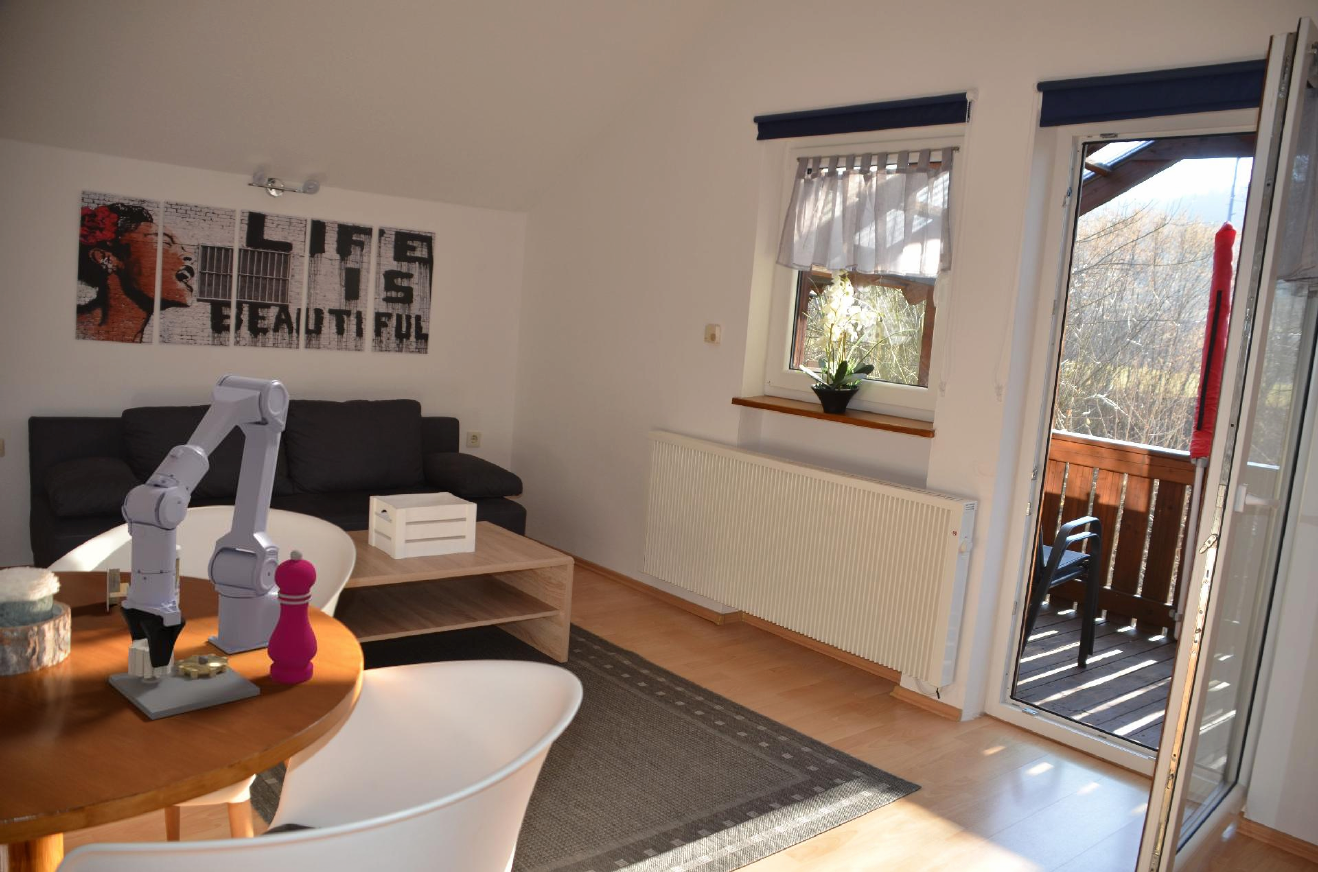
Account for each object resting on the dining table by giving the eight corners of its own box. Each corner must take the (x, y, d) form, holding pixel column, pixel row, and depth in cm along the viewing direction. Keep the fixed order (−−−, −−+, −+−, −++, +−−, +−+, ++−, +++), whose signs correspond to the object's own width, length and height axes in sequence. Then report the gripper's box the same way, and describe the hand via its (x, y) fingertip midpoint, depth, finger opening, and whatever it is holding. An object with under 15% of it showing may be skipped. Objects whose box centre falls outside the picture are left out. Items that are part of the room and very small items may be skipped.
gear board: (211, 661, 159) (212, 639, 159) (259, 694, 148) (260, 671, 148) (108, 681, 148) (109, 658, 148) (152, 719, 137) (152, 695, 137)
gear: (164, 659, 151) (165, 634, 151) (180, 671, 148) (181, 645, 147) (121, 668, 147) (122, 641, 146) (136, 680, 143) (137, 653, 143)
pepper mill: (269, 687, 151) (274, 556, 149) (263, 669, 158) (268, 544, 155) (319, 682, 155) (325, 554, 152) (312, 665, 161) (317, 542, 158)
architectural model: (128, 602, 184) (128, 562, 182) (129, 614, 178) (130, 573, 176) (106, 603, 182) (107, 563, 181) (107, 615, 176) (107, 574, 175)
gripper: (105, 559, 147) (103, 649, 149) (144, 585, 137) (142, 681, 139) (155, 553, 152) (153, 640, 154) (196, 578, 143) (194, 670, 144)
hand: (151, 659), depth 147 cm, fingers closed on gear, 6 cm apart
